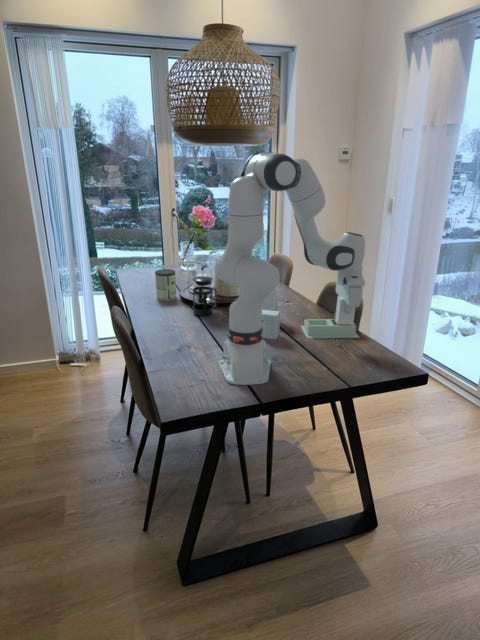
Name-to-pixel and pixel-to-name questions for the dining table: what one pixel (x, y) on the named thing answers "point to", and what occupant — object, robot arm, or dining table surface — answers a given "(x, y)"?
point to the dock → (328, 329)
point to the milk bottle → (270, 302)
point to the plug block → (343, 313)
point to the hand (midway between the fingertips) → (345, 311)
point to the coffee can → (165, 284)
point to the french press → (203, 296)
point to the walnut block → (335, 321)
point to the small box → (270, 324)
